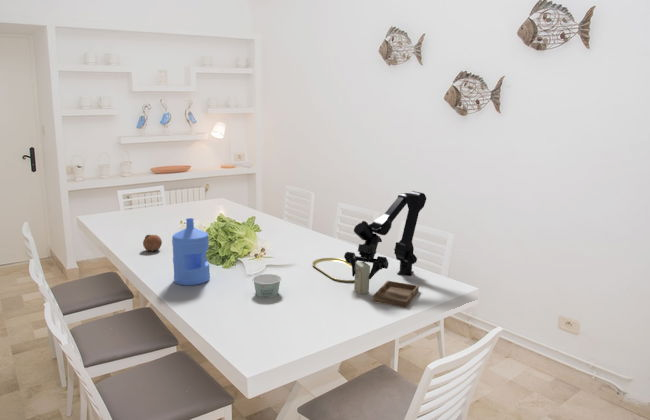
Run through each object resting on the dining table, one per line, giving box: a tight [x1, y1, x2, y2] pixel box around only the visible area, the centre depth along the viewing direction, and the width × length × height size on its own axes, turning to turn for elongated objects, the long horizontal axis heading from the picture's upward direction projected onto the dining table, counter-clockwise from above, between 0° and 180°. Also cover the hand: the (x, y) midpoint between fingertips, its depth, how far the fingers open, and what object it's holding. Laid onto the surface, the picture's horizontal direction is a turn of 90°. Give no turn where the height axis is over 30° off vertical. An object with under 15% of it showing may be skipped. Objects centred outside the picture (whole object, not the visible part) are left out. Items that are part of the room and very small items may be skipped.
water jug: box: [171, 217, 211, 286], centre depth 223 cm, size 16×16×28 cm
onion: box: [142, 234, 163, 252], centre depth 268 cm, size 10×9×10 cm
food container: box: [252, 273, 282, 298], centre depth 211 cm, size 12×12×6 cm
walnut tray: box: [372, 280, 420, 309], centre depth 211 cm, size 20×14×2 cm
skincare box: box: [353, 261, 371, 295], centre depth 215 cm, size 6×4×12 cm
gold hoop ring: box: [311, 257, 355, 283], centre depth 242 cm, size 19×35×2 cm, turn 27°
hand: (361, 277), depth 213 cm, fingers closed on skincare box, 7 cm apart
